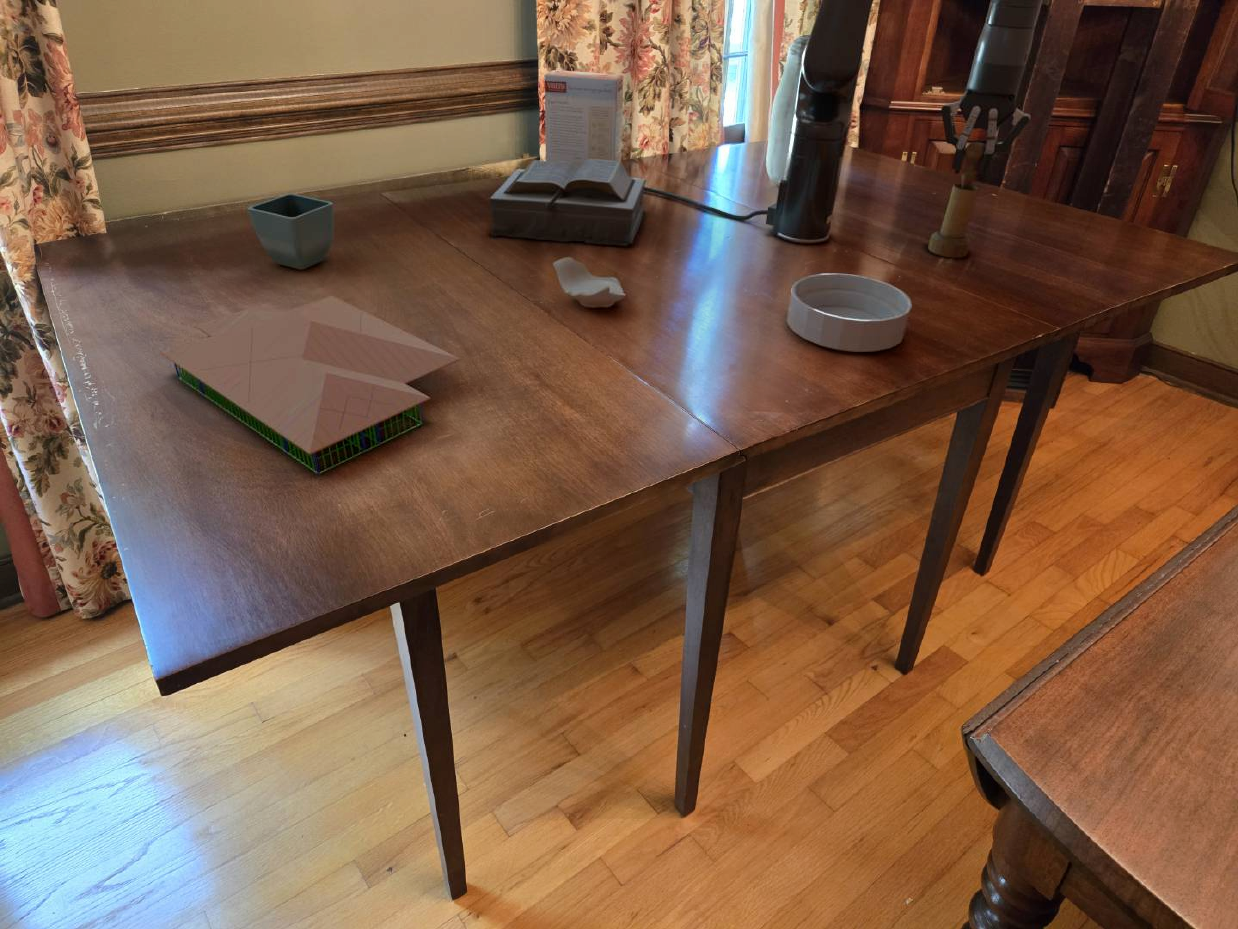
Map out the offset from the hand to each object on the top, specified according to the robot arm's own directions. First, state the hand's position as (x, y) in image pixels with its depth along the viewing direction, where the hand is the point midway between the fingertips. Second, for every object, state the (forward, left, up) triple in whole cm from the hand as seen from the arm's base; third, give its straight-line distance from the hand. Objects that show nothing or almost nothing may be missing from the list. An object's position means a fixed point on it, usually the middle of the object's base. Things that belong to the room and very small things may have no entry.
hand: (968, 173), depth 135 cm
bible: (-61, -25, -13) cm, 67 cm away
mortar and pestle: (0, 0, -13) cm, 13 cm away
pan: (-7, -41, -13) cm, 44 cm away
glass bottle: (-36, +21, -13) cm, 44 cm away
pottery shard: (-41, -52, -13) cm, 68 cm away
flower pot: (-86, -64, -13) cm, 108 cm away
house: (-57, -90, -13) cm, 107 cm away
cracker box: (-70, -5, -13) cm, 71 cm away
